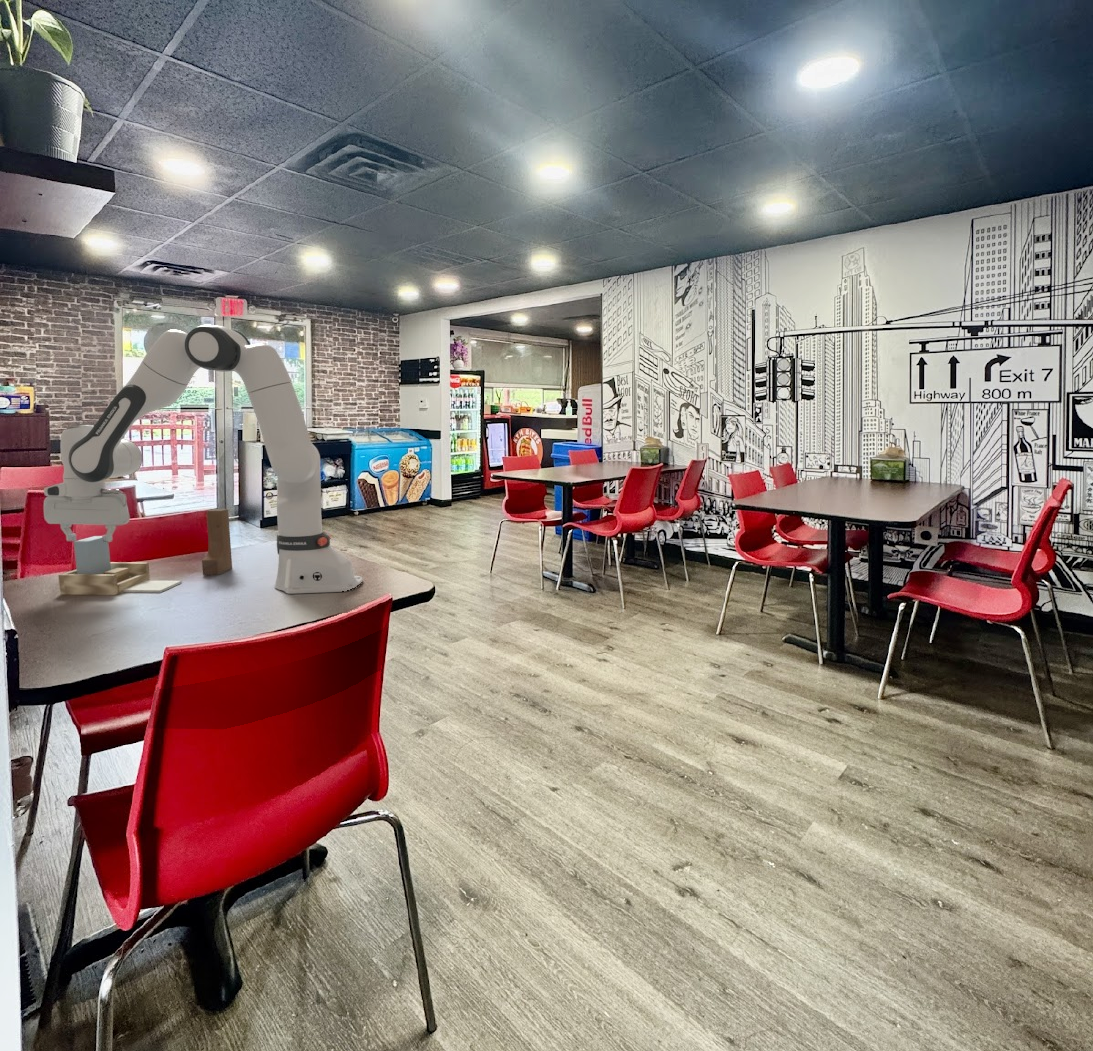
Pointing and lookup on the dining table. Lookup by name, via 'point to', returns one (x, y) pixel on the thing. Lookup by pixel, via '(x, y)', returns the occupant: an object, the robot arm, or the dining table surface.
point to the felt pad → (152, 586)
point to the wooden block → (218, 543)
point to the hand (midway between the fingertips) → (89, 541)
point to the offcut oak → (119, 573)
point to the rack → (103, 580)
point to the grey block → (92, 555)
